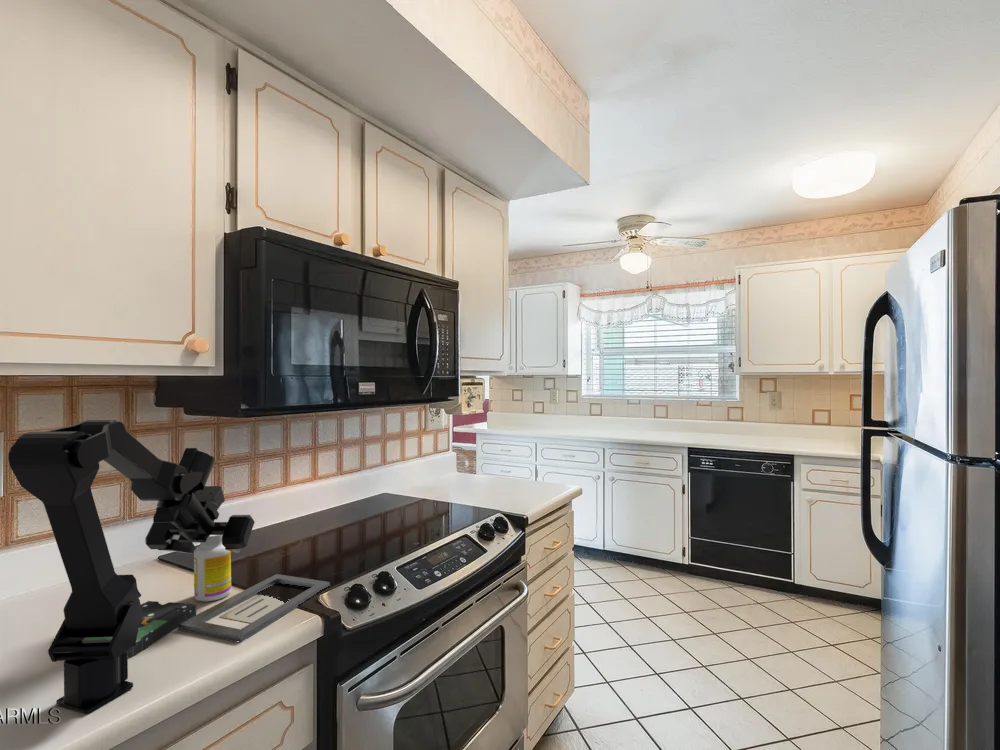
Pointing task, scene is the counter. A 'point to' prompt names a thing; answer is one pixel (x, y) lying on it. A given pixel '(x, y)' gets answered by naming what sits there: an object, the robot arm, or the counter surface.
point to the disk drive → (156, 623)
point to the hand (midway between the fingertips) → (216, 551)
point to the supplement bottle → (212, 570)
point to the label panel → (251, 609)
